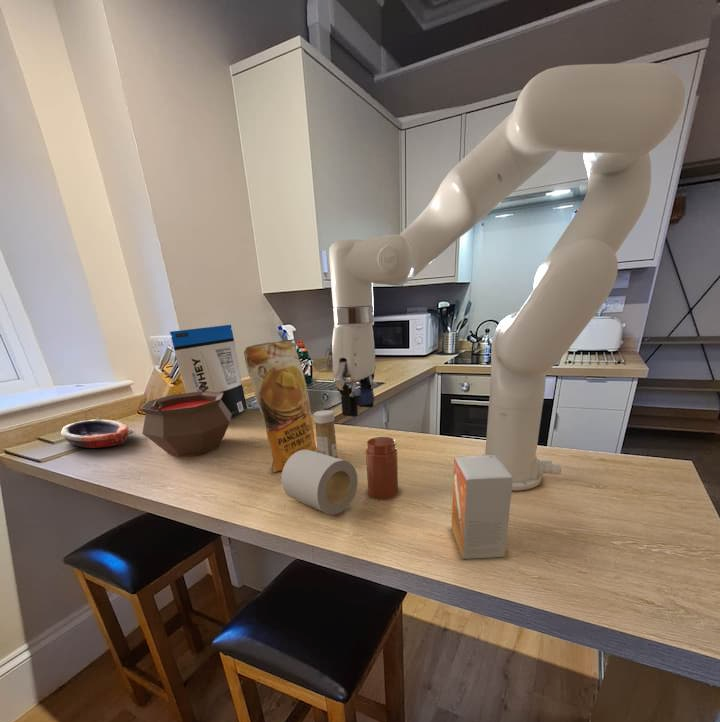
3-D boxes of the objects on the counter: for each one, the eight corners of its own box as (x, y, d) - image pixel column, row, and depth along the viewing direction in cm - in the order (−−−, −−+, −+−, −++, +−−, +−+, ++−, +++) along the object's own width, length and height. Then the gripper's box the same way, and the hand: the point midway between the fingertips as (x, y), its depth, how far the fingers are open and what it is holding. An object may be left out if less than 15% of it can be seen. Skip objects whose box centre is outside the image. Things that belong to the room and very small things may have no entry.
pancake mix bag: (255, 472, 92) (231, 347, 80) (306, 446, 106) (292, 337, 94) (277, 477, 88) (255, 347, 77) (326, 449, 103) (314, 336, 91)
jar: (400, 486, 80) (399, 436, 76) (395, 500, 75) (393, 447, 70) (372, 485, 82) (369, 435, 77) (365, 498, 76) (361, 446, 72)
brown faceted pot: (213, 463, 99) (198, 399, 92) (129, 463, 103) (108, 402, 96) (252, 433, 120) (242, 379, 113) (181, 434, 124) (167, 382, 117)
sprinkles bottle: (342, 469, 90) (337, 412, 85) (325, 474, 88) (318, 416, 82) (332, 463, 94) (327, 408, 88) (316, 468, 92) (309, 412, 86)
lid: (335, 403, 80) (334, 393, 79) (355, 396, 84) (355, 387, 83) (360, 407, 76) (359, 397, 75) (380, 400, 80) (379, 390, 80)
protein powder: (255, 409, 147) (240, 324, 135) (203, 428, 129) (179, 331, 116) (238, 407, 152) (221, 325, 139) (184, 425, 134) (160, 332, 121)
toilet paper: (285, 507, 75) (277, 459, 71) (323, 488, 82) (318, 443, 77) (320, 523, 69) (314, 471, 65) (359, 501, 75) (355, 453, 71)
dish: (105, 427, 138) (100, 413, 136) (145, 441, 120) (140, 425, 118) (54, 440, 127) (48, 426, 125) (90, 458, 109) (83, 441, 107)
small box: (450, 530, 64) (453, 456, 59) (489, 528, 64) (495, 454, 58) (461, 560, 57) (466, 479, 51) (505, 558, 57) (514, 476, 51)
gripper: (357, 315, 82) (361, 400, 89) (311, 321, 68) (320, 421, 76) (390, 314, 79) (391, 402, 86) (349, 320, 65) (354, 424, 72)
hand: (358, 410), depth 81 cm, fingers closed on lid, 6 cm apart
